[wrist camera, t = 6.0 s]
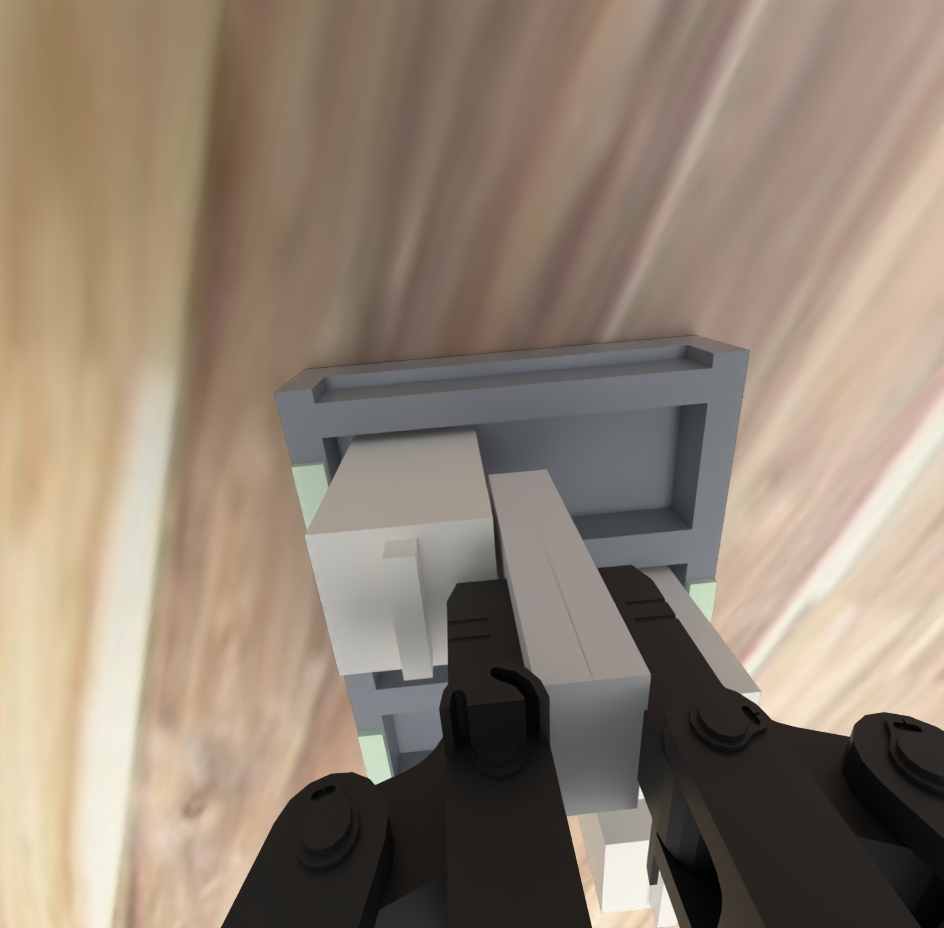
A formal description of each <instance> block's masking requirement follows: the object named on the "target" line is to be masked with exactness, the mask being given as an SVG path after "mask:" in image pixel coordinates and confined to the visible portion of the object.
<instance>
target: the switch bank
mask: <svg viewBox="0 0 944 928" xmlns="http://www.w3.org/2000/svg"><path fill="white" fill-rule="evenodd" d="M749 352H750V350H746V349H743V348H739V347H736V346H732V345H729V344H725V343H722V342H718V341H715V340H711V339H708V338H704V337H701V336H697V335H691V336H680V337H669V338H657V339H646V340H634V341H623V342H611V343H600V344H589V345H577V346H566V347H554V348H543V349H532V350H520V351H509V352H497V353H486V354H475V355H463V356H452V357H440V358H429V359H418V360H406V361H395V362H383V363H372V364H361V365H349V366H338V367H326V368H315V369H304V370H303V371H301V372H300V373H299V374H298V375H296V376H295V377H294V378H292V379H291V380H290V381H289V382H287V383H286V384H285V385H283V386H282V387H281V388H280V389H278V390H277V391H276V392H274V394H275V398H276V402H277V406H278V410H279V414H280V418H281V422H282V426H283V430H284V434H285V438H286V443H287V447H288V451H289V455H290V459H291V463H292V467H291V469H292V473H293V477H294V481H295V485H296V489H297V493H298V497H299V501H300V505H301V509H302V513H303V517H304V521H305V525H306V529H308V528H309V526H310V524H311V522H312V520H313V518H314V516H315V514H316V512H317V510H318V508H319V506H320V504H321V502H322V500H323V498H324V496H325V494H326V492H327V490H328V488H329V486H330V484H331V482H332V480H333V478H334V476H335V474H336V472H337V470H338V468H339V466H340V464H341V462H342V460H343V458H344V456H345V454H346V452H347V450H348V448H349V446H350V444H351V442H352V440H353V438H354V436H355V435H362V434H373V433H384V432H395V431H406V430H417V429H428V428H439V427H450V426H461V425H472V424H474V427H475V432H476V437H477V441H478V446H479V451H480V456H481V461H482V466H483V471H484V476H485V481H486V486H487V491H488V496H489V501H490V492H489V477H488V475H491V474H502V473H513V472H524V471H535V470H546V469H547V471H548V473H549V475H550V477H551V479H552V481H553V483H554V485H555V487H556V489H557V491H558V493H559V495H560V497H561V499H562V501H563V503H564V505H565V507H566V509H567V511H568V513H569V514H570V516H571V518H572V520H573V522H574V524H575V526H576V528H577V530H578V532H579V534H580V536H581V538H582V540H583V542H584V544H585V546H586V548H587V550H588V552H589V554H590V556H591V558H592V560H593V562H594V564H595V566H596V568H601V567H612V566H622V565H633V566H634V567H636V568H644V567H654V566H664V565H667V566H668V567H669V568H670V570H671V571H672V572H673V574H674V575H675V577H676V578H677V579H678V581H679V582H680V583H681V585H682V586H683V587H684V589H685V590H686V591H687V593H688V594H689V595H690V597H691V598H692V599H693V601H694V602H695V603H696V605H697V606H698V607H699V609H700V610H701V611H702V613H703V614H704V615H705V617H706V618H707V619H708V621H709V622H710V623H711V618H712V612H713V605H714V599H715V592H716V586H717V581H716V580H715V573H716V566H717V560H718V553H719V547H720V540H721V534H722V527H723V521H724V514H725V508H726V501H727V495H728V488H729V482H730V475H731V469H732V462H733V456H734V449H735V443H736V436H737V430H738V424H739V417H740V411H741V404H742V398H743V391H744V385H745V378H746V372H747V365H748V359H749ZM344 678H345V682H346V686H347V690H348V694H349V698H350V702H351V706H352V710H353V714H354V718H355V722H356V726H357V731H358V739H359V743H360V747H361V751H362V755H363V759H364V763H365V767H366V771H367V775H368V778H369V779H371V781H372V782H373V783H374V784H375V785H376V784H378V783H380V782H383V781H385V780H387V779H389V778H391V777H394V776H396V775H398V774H400V773H402V772H405V771H407V770H408V769H410V768H412V767H414V766H415V765H417V764H419V763H420V762H422V761H423V760H424V759H425V758H426V757H427V756H428V755H429V754H430V753H431V752H433V750H434V749H435V747H436V746H437V745H438V743H439V742H440V740H441V739H442V737H443V734H442V727H441V720H440V712H439V707H440V702H441V698H442V693H443V690H444V689H445V687H446V686H447V685H448V664H447V665H437V666H433V678H424V679H415V680H405V681H404V678H403V672H402V669H399V670H389V671H380V672H370V673H360V674H351V675H344Z"/></svg>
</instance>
